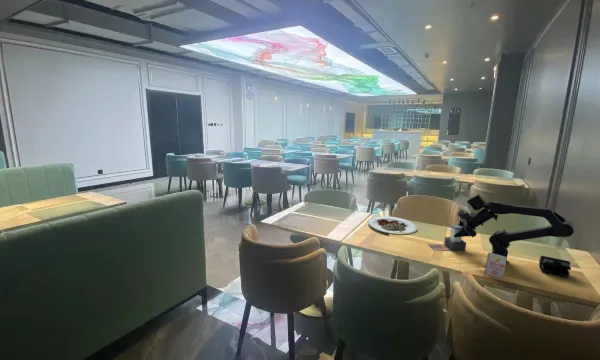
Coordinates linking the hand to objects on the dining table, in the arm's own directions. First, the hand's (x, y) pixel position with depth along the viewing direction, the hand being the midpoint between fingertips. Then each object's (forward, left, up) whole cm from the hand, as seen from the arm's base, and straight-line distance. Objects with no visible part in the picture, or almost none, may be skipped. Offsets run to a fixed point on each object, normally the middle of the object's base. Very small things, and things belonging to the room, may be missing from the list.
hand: (453, 234), depth 151 cm
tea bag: (-26, -6, -9) cm, 28 cm away
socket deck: (-1, +3, -9) cm, 9 cm away
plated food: (+30, +22, -9) cm, 39 cm away
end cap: (-23, -36, -9) cm, 43 cm away
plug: (0, -1, -7) cm, 8 cm away
